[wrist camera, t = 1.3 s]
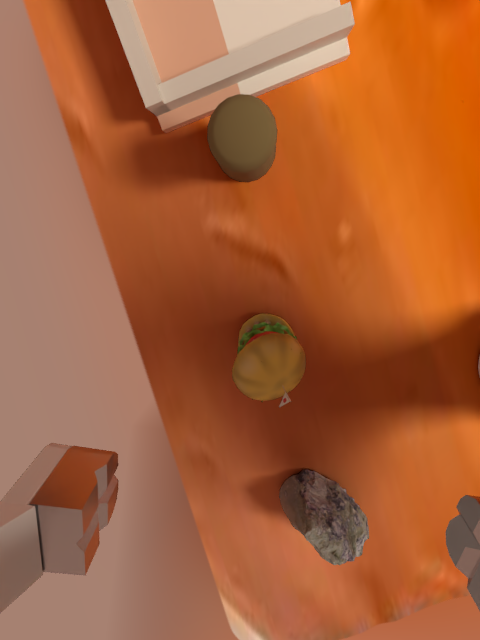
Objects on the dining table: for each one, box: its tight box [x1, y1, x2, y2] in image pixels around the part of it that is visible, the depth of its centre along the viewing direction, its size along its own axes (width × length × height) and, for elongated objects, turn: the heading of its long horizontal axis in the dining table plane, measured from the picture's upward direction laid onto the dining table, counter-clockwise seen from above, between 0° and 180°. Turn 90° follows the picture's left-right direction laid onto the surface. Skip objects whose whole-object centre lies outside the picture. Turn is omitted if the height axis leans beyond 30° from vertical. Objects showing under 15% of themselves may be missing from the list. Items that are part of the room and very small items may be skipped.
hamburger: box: [232, 313, 306, 407], centre depth 36 cm, size 8×7×12 cm
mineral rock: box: [279, 469, 369, 565], centre depth 45 cm, size 13×11×10 cm
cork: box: [207, 94, 277, 182], centre depth 29 cm, size 6×6×11 cm
